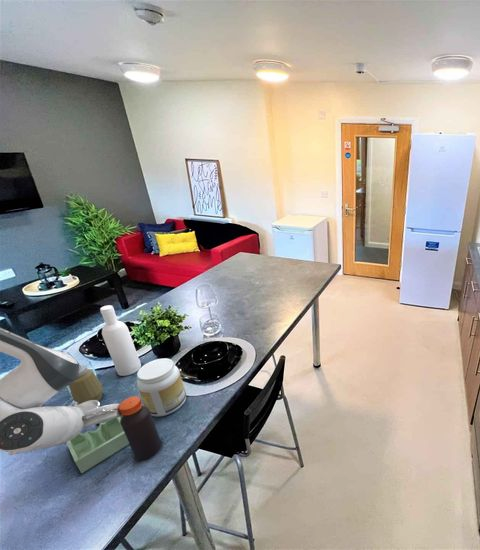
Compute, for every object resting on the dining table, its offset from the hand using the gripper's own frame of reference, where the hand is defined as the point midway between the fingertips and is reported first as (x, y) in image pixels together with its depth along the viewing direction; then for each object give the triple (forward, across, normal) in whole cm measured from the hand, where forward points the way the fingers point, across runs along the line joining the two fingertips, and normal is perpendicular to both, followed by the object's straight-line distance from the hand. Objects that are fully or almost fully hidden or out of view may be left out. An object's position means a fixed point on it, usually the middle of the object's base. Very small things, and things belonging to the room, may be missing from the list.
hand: (83, 422), depth 82 cm
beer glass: (+12, 0, +7) cm, 14 cm away
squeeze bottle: (+29, +7, -9) cm, 31 cm away
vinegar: (+6, -12, +14) cm, 19 cm away
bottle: (+38, -2, -18) cm, 42 cm away
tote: (+12, 0, +7) cm, 14 cm away
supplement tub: (+18, -17, +1) cm, 25 cm away
